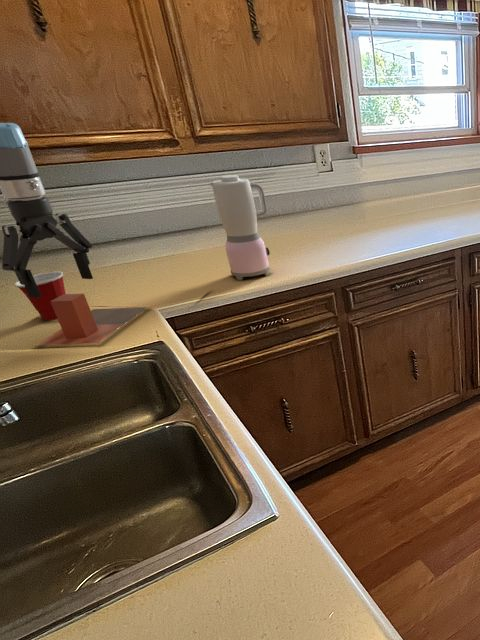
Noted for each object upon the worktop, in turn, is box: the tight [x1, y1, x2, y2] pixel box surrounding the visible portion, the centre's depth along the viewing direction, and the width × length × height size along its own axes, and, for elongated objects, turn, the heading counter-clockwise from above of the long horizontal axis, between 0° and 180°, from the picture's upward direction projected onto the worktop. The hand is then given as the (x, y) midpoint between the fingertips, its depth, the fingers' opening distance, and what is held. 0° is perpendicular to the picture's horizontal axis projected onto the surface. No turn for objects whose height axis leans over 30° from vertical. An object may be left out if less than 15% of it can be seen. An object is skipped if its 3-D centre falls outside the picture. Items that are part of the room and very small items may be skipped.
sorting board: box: [35, 306, 148, 349], centre depth 138 cm, size 15×24×1 cm, turn 4°
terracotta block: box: [50, 293, 98, 339], centre depth 130 cm, size 5×5×10 cm
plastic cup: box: [14, 271, 67, 321], centre depth 142 cm, size 11×11×12 cm
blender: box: [208, 174, 271, 281], centre depth 170 cm, size 16×12×32 cm
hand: (62, 287), depth 127 cm, fingers open, 13 cm apart
